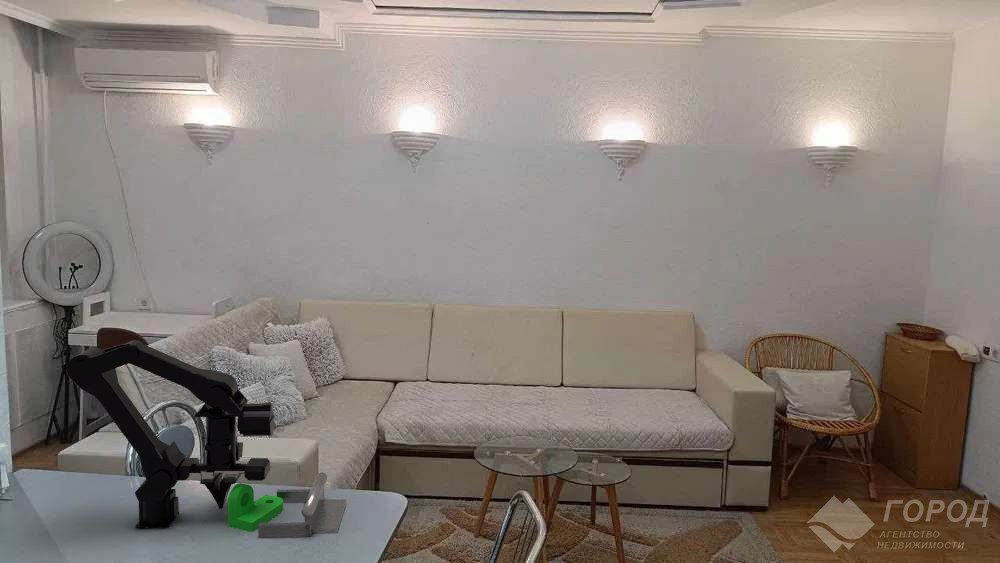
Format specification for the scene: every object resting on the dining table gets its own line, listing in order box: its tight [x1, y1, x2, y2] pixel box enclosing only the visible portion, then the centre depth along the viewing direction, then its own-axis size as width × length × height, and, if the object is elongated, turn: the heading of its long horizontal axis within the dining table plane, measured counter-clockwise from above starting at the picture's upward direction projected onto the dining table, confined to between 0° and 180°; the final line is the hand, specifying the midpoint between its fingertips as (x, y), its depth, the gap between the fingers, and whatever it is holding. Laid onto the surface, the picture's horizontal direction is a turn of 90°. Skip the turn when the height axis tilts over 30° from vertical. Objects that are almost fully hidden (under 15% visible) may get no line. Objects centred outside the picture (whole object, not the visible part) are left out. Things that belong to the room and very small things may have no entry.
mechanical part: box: [227, 482, 284, 533], centre depth 147 cm, size 12×6×8 cm, turn 161°
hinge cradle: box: [257, 472, 347, 539], centre depth 147 cm, size 15×17×6 cm
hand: (221, 508), depth 146 cm, fingers closed
